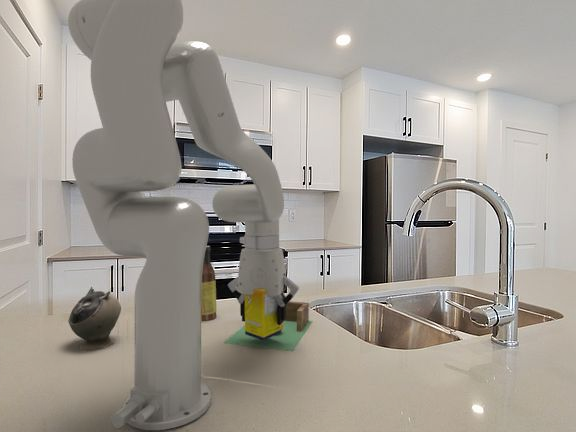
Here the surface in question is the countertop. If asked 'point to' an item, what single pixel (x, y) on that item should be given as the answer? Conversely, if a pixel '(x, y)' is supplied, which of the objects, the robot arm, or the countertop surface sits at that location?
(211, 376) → the countertop surface
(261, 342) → the pitch
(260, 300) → the supplement box
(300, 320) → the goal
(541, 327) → the countertop surface
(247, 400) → the countertop surface
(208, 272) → the sauce bottle
